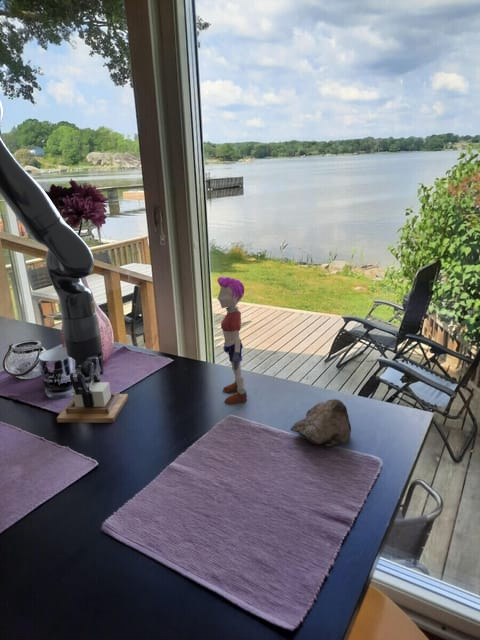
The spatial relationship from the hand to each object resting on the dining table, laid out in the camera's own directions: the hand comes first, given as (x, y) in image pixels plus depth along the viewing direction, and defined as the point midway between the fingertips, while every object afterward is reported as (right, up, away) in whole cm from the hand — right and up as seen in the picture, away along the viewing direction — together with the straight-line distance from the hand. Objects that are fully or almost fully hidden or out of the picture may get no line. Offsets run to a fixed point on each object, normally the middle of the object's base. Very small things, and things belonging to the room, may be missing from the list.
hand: (93, 400), depth 104 cm
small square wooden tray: (0, -2, +1) cm, 2 cm away
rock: (+51, -5, -12) cm, 53 cm away
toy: (+33, 0, +5) cm, 34 cm away
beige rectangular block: (0, 0, 0) cm, 0 cm away
